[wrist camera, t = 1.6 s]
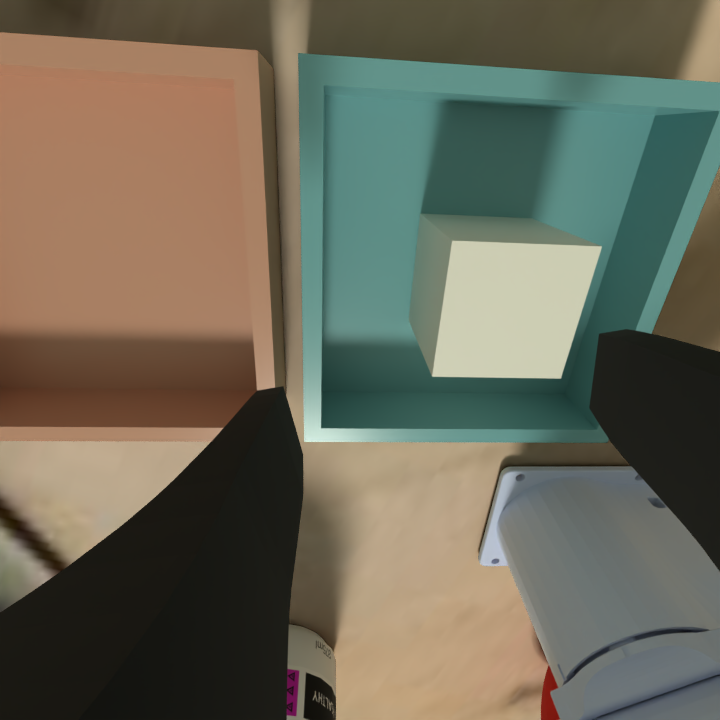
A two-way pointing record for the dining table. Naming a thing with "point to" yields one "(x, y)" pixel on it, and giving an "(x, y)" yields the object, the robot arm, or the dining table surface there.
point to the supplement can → (310, 676)
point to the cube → (497, 295)
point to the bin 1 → (135, 239)
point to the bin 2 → (482, 198)
